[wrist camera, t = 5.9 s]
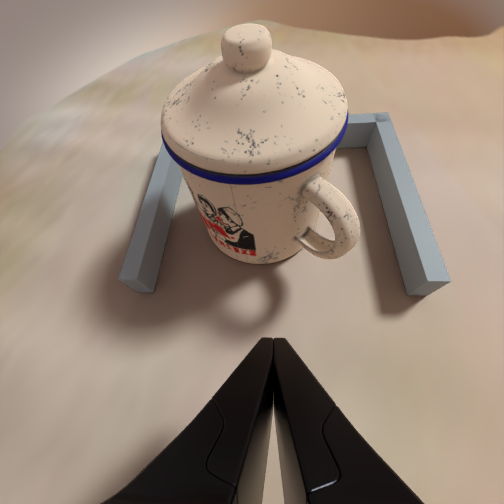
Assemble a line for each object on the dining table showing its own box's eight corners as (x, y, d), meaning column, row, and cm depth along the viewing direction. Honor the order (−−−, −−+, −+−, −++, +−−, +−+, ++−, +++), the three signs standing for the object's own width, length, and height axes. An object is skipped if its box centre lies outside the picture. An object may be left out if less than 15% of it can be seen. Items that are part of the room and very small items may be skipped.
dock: (427, 295, 15) (451, 281, 13) (137, 292, 17) (118, 279, 15) (377, 137, 23) (388, 112, 21) (177, 147, 24) (168, 124, 22)
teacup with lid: (184, 213, 20) (92, 39, 10) (269, 160, 22) (263, -27, 12) (278, 329, 15) (284, 214, 5) (376, 247, 17) (520, 49, 7)
